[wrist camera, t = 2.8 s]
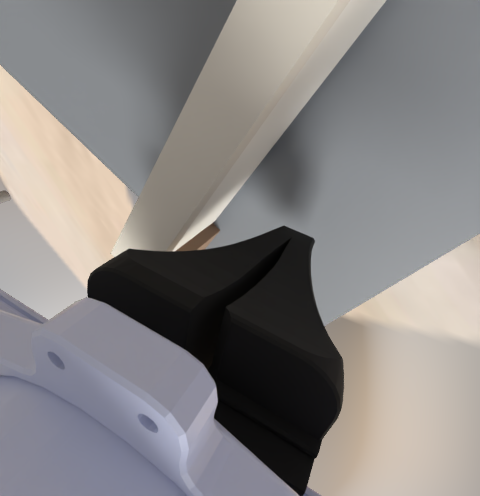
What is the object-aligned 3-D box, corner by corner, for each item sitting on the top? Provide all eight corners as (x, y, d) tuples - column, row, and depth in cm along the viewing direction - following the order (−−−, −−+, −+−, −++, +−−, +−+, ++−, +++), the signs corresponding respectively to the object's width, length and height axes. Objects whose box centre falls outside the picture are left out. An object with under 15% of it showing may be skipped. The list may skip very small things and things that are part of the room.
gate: (487, -237, 7) (588, -706, 3) (543, -184, 7) (734, -577, 3) (193, 203, 16) (110, 253, 11) (217, 226, 16) (142, 284, 11)
